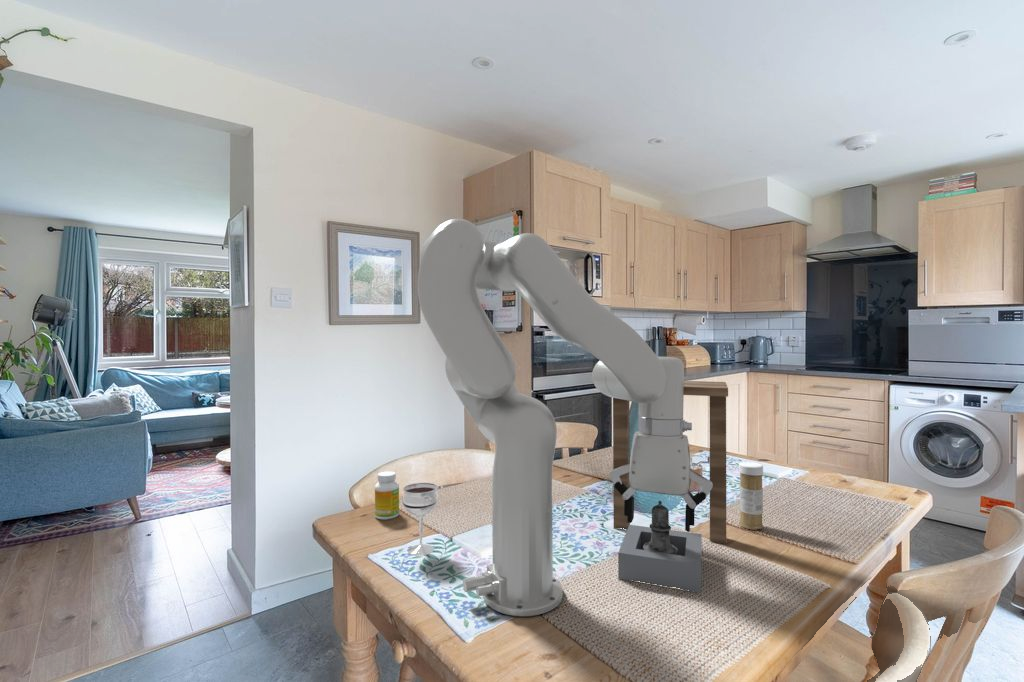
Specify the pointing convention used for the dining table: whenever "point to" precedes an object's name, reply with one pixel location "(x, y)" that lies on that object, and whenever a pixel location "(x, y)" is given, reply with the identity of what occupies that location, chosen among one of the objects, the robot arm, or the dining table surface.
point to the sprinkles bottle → (751, 495)
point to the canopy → (717, 453)
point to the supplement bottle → (386, 496)
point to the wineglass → (420, 509)
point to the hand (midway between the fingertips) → (658, 524)
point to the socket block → (661, 559)
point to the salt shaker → (660, 532)
